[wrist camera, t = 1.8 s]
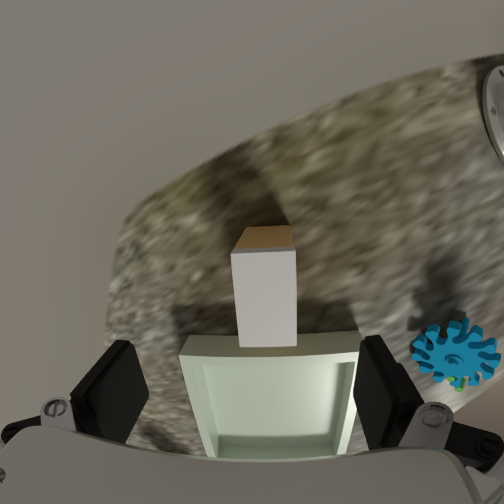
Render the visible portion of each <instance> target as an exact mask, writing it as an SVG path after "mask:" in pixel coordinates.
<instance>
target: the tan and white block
mask: <svg viewBox="0 0 504 504" xmlns="http://www.w3.org/2000/svg"><path fill="white" fill-rule="evenodd" d="M231 264H232V275H233V286H234V296H235V306H236V316H237V326H238V335H239V344H240V347H284V346H297V294H296V251H295V246H294V242H293V237H292V233H291V228H290V225H282V226H261V227H246V229H245V230H244V232H243V234H242V235H241V237H240V239H239V240H238V242H237V244H236V245H235V247H234V249H233V250H232V252H231Z"/></svg>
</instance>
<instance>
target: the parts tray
mask: <svg viewBox="0 0 504 504" xmlns="http://www.w3.org/2000/svg"><path fill="white" fill-rule="evenodd" d="M361 340H363V338H362V336H361V334H360V332H359V330H352V331H340V332H326V333H310V334H297V346H284V347H240V344H239V336H223V335H189V336H188V338H187V340H186V342H185V344H184V346H183V348H182V350H181V351H180V353H179V359H180V363H181V367H182V371H183V375H184V379H185V383H186V387H187V391H188V394H189V398H190V402H191V405H192V409H193V412H194V415H195V419H196V422H197V425H198V429H199V432H200V435H201V438H202V441H203V444H204V448H205V451H206V453H207V456H208V457H215V458H231V459H293V458H309V457H320V456H331V455H340V454H345V453H346V449H347V446H348V442H349V438H350V435H351V431H352V427H353V423H354V419H355V415H356V410H357V408H356V405H355V401H354V398H353V387H354V381H355V375H356V369H357V362H358V355H359V348H360V342H361Z"/></svg>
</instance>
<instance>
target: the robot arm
mask: <svg viewBox="0 0 504 504" xmlns="http://www.w3.org/2000/svg"><path fill="white" fill-rule="evenodd" d="M482 105H483V113H484V118H485V122H486V126H487V130H488V133H489V136H490V139H491V141H492V143H493V146H494V148H495V150H496V152H497V154H498V156H499V158H500V159H501V161H502V162H503V163H504V66H502V65H501V66H498V67H495V68H493V69H492V70H490V71H489V72H488V74H487V75H486V77H485V80H484V82H483V89H482ZM70 396H71V400H70V401H69V400H68V399H66V398H63V397H54V398H51V399H49V400H48V401H46V402H45V403H44V404H43V406H42V407H41V415H40V416H36V417H33V418H29V419H26V420H21V421H18V422H14V423H11V424H8V425H7V426H6V427H5V428H4V429H3V431H2V433H1V438H0V504H504V442H503V440H502V439H501V437H500V436H498V435H497V434H495V433H492V432H488V431H485V430H481V429H477V428H474V427H470V426H467V425H464V424H460V423H457V422H454V421H453V418H454V416H453V412H452V410H451V409H450V408H449V407H448V406H447V405H445V404H443V403H440V402H427V403H424V401H423V399H422V397H421V396H420V394H419V392H418V390H417V389H416V387H415V385H414V384H413V382H412V380H411V379H410V377H409V375H408V374H407V372H406V370H405V369H404V367H403V365H402V364H401V363H397V362H396V361H395V359H394V357H393V356H392V354H391V352H390V351H389V349H388V347H387V346H386V344H385V343H384V341H383V339H382V338H381V336H380V335H373V336H366V337H365V339H364V340H361V342H360V348H359V355H358V362H357V369H356V375H355V381H354V387H353V398H354V401H355V405H356V408H357V411H358V414H359V417H360V421H361V424H362V427H363V431H364V434H365V437H366V441H367V444H368V448H369V451H362V452H355V453H348V454H340V455H331V456H320V457H309V458H293V459H231V458H215V457H203V456H193V455H185V454H178V453H171V452H164V451H158V450H152V449H147V448H142V447H137V446H132V445H128V444H125V442H126V440H127V438H128V437H129V435H130V433H131V431H132V429H133V427H134V425H135V423H136V421H137V419H138V417H139V415H140V413H141V411H142V409H143V407H144V406H145V404H146V402H147V400H148V397H149V391H148V388H147V385H146V382H145V379H144V376H143V373H142V370H141V367H140V363H139V360H138V357H137V353H136V350H135V347H134V345H133V344H131V343H130V341H128V340H116V341H115V342H114V343H113V344H112V345H111V346H110V347H109V349H108V350H107V351H106V352H105V353H104V354H103V355H102V357H101V358H100V359H99V360H98V361H97V363H96V364H95V365H94V366H93V367H92V368H91V370H90V371H89V372H88V373H87V374H86V375H85V377H84V378H83V379H82V380H81V381H80V383H79V384H78V385H77V386H76V387H75V388H74V390H73V391H72V392H71V393H70Z"/></svg>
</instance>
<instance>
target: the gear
mask: <svg viewBox="0 0 504 504" xmlns="http://www.w3.org/2000/svg"><path fill="white" fill-rule="evenodd" d="M469 323H470V320H469V319H468V318H463V319H462V321H461V323H459V322H456V321H450V322H449V324H448V328H447V334H448V336H447V337H446V338H441V337H439V336H438V335H439V331H440V327H439V325H430V326H428V327H427V330H426V333H425V334H426V336H427V337H428V338H429V339H430V340H431V341H432V343H433V344H429V343H428V342H427V338H426V336H425V335H423V334H420V335H418V336H417V337H416V338H415V340H414V342H413V346H414V347H416V348H415V350H414V353H413V355H412V359H413V360H415V361H421V363H420V365H419V369H420V371H421V372H422V373H427V372H431V371H435V372H434V375H433V377H432V379H433V380H435V381H436V382H438V383H440V382H442V380H443V379H444V378H446V377H447V380H448V381H450V385H452V386H455V391H457V392H462V391H463V388H464V385H465V382H466V379H465V378H463V377H464V376H469V377H470V378H469V381H468V385H469V386H476V385H478V384H479V380H480V376H479V375H478V374H477V373H476V371H480V372H482V377H483V378H484V379H490V378H491V377H493V375H494V371H495V368H496V367H497V366H498V365H499V363H500V359H501V354H499V353H495V352H496V346H497V341H496V339H495V338H489V339H487V340H485V341H482V342H479V341H481V340H482V337H483V332H484V331H483V330H482V329H481V328H480V327H479V326H477V325H474V326H473V327H472V328H471V330H470V332H469V333H468V334H467V331H468V327H469ZM456 336H457V337H456ZM424 351H425V352H424ZM484 362H486V363H488V364H489V365H487V364H485V363H484Z"/></svg>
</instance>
